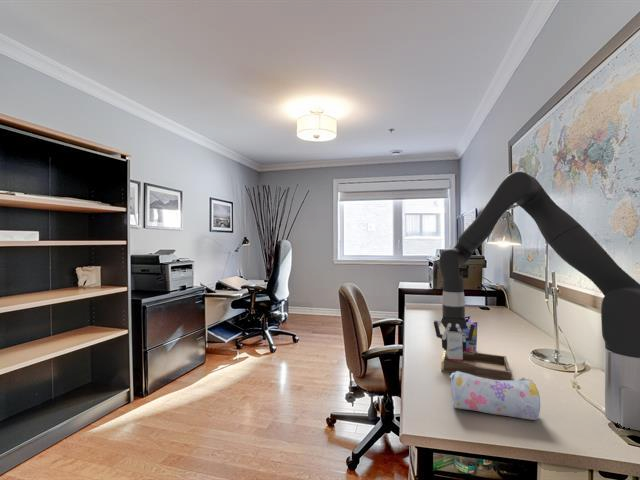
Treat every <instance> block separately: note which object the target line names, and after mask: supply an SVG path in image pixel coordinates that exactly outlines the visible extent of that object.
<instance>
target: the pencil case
mask: <svg viewBox="0 0 640 480" xmlns="http://www.w3.org/2000/svg"><path fill="white" fill-rule="evenodd" d="M449 378H450V394H451V395H450V396H451V399H452V400H451V401H452V406H453V408H455V409H459V410H468V411H475V412H480V413H485V414H491V415H498V416H504V417H505V416H507V417H511V418H519V419H524V420H531V421H536V420H538V419H539V417H540V411H541V396H540V392H539V390H538V387H537V385H536V383H535V382H534V381H533V380H532V379H529V378H526V377H521V378H518V379H516V380H513V379H511V380H494V379H488V378H482V377H478V376H474V375H471V374H468V373H463V372H460V371H456V372H455V373H450V375H449Z"/></svg>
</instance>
